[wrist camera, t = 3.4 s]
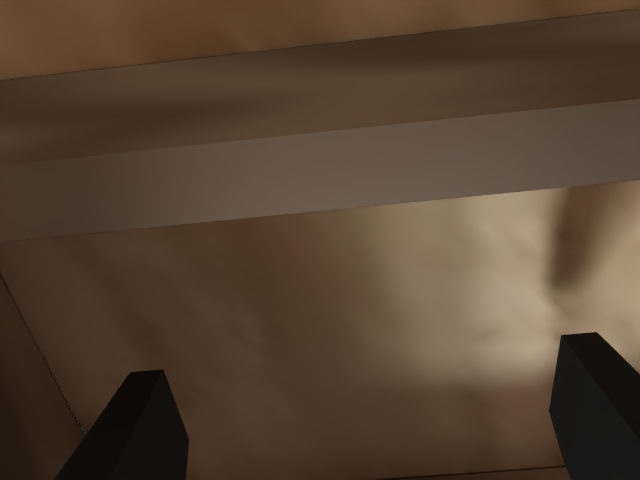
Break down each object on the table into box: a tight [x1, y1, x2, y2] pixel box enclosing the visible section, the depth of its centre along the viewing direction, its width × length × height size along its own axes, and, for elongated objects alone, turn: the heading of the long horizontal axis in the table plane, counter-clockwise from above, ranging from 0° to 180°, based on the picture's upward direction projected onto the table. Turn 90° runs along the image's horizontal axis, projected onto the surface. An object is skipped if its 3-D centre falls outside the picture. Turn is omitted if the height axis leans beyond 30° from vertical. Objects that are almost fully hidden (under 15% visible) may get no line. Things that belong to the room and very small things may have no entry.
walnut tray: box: [0, 9, 640, 480], centre depth 11 cm, size 21×12×3 cm, turn 96°
